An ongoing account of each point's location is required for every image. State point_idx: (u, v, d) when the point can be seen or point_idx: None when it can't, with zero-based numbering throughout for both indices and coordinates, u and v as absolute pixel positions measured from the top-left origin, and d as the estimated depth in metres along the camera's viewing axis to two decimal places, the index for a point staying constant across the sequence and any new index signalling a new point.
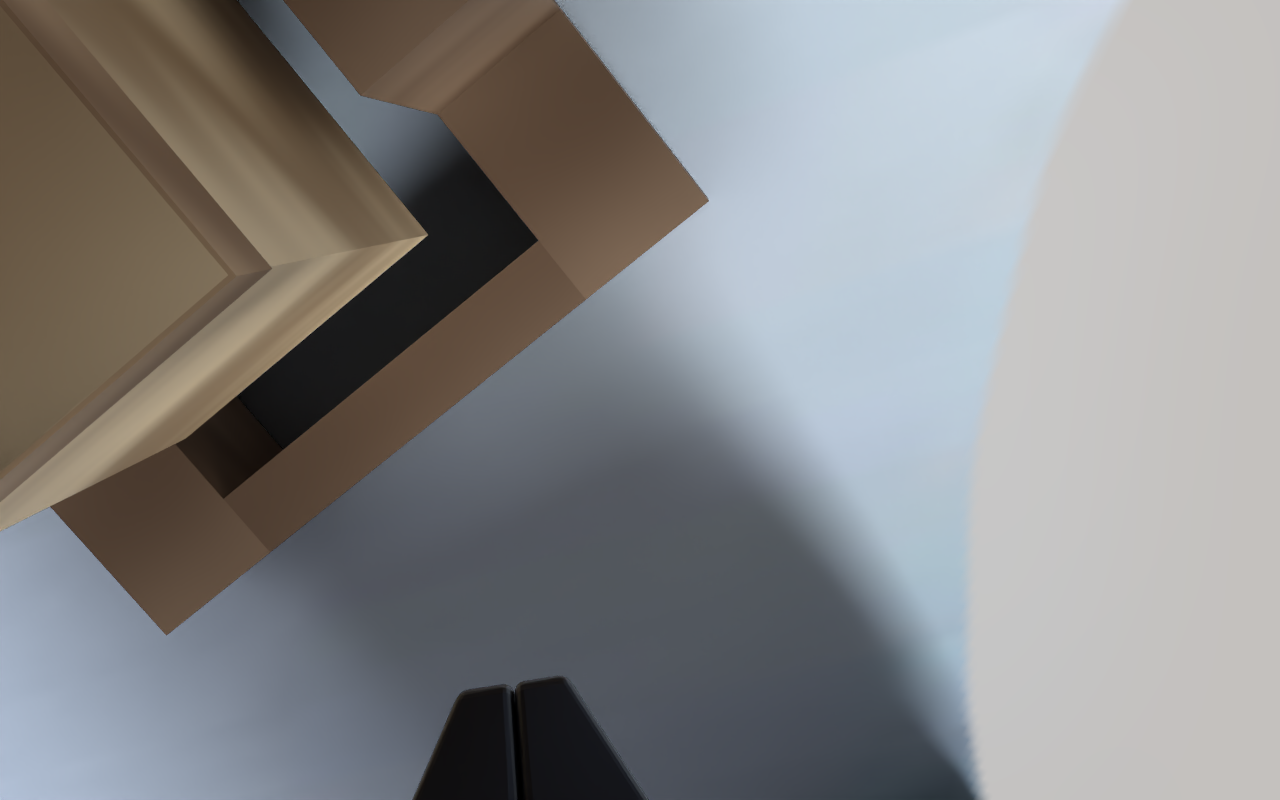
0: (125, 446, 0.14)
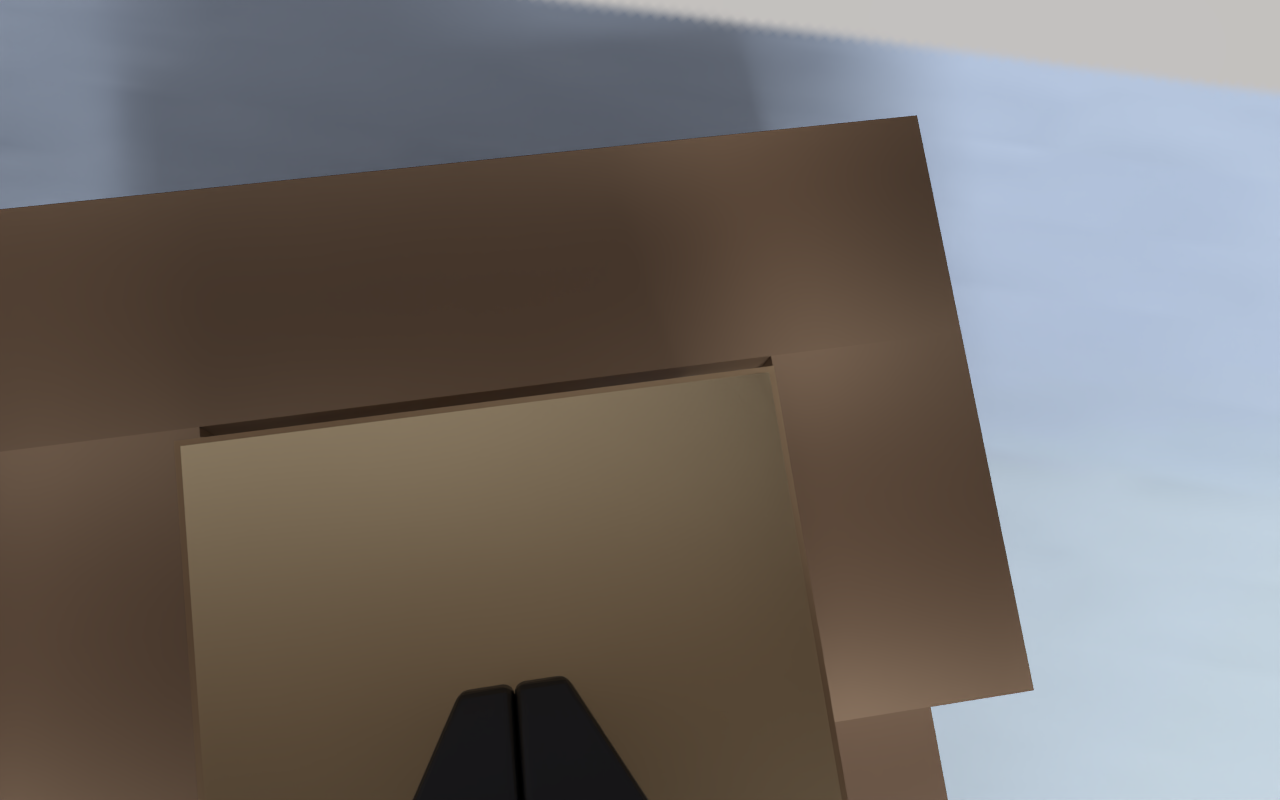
0: None
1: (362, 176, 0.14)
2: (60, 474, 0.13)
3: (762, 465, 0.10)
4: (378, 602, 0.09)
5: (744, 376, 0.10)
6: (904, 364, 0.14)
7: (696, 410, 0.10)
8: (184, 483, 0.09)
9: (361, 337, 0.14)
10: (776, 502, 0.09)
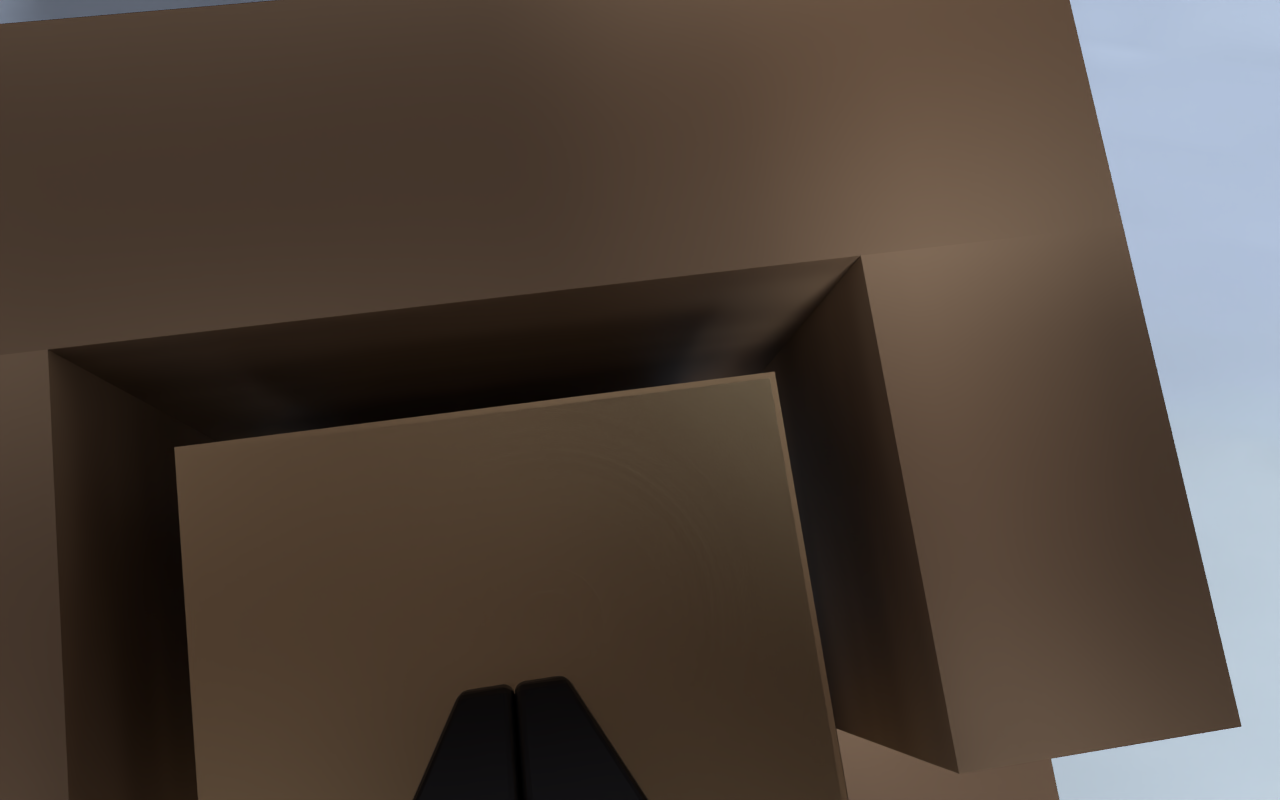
0: None
1: (288, 4, 0.10)
2: None
3: (763, 471, 0.10)
4: (377, 608, 0.09)
5: (745, 382, 0.10)
6: (1046, 268, 0.10)
7: (697, 416, 0.10)
8: (184, 489, 0.09)
9: (283, 226, 0.10)
10: (777, 508, 0.09)
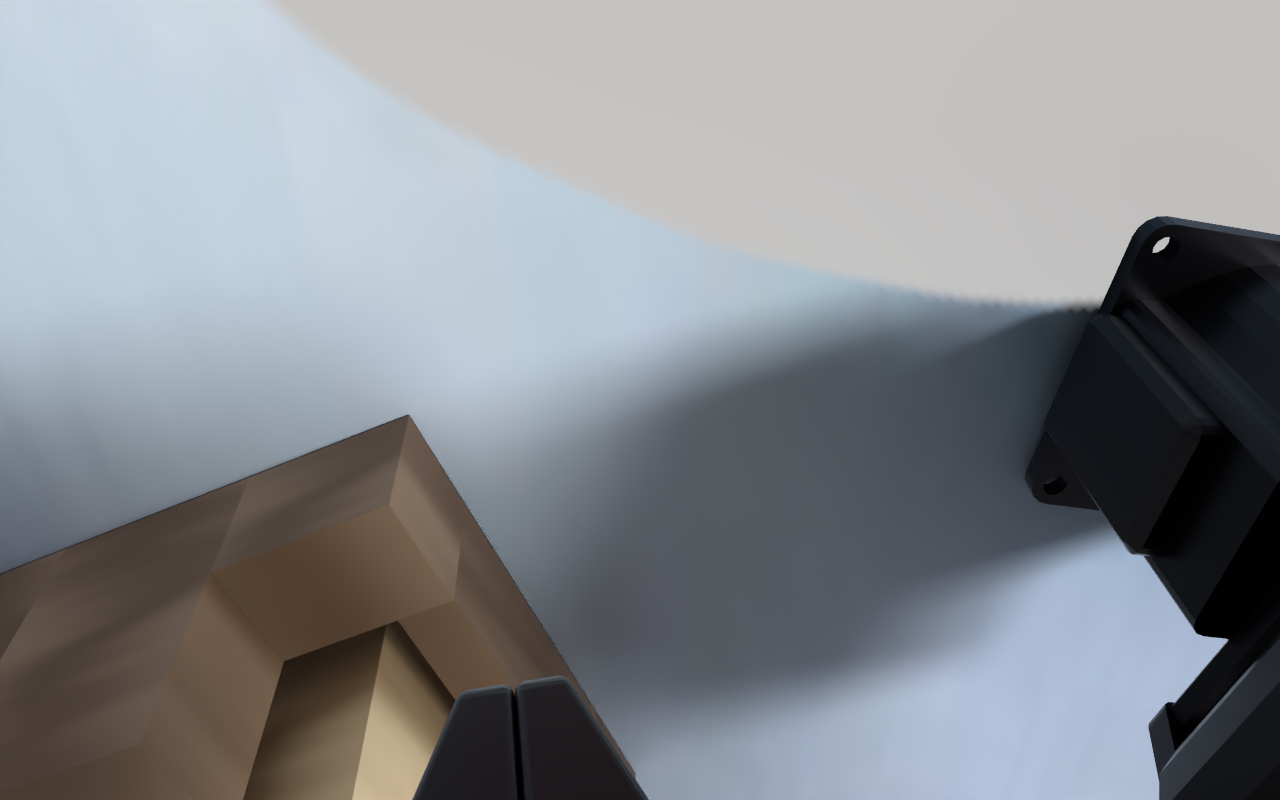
0: None
1: None
2: None
3: None
4: None
5: None
6: None
7: None
8: None
9: None
10: None
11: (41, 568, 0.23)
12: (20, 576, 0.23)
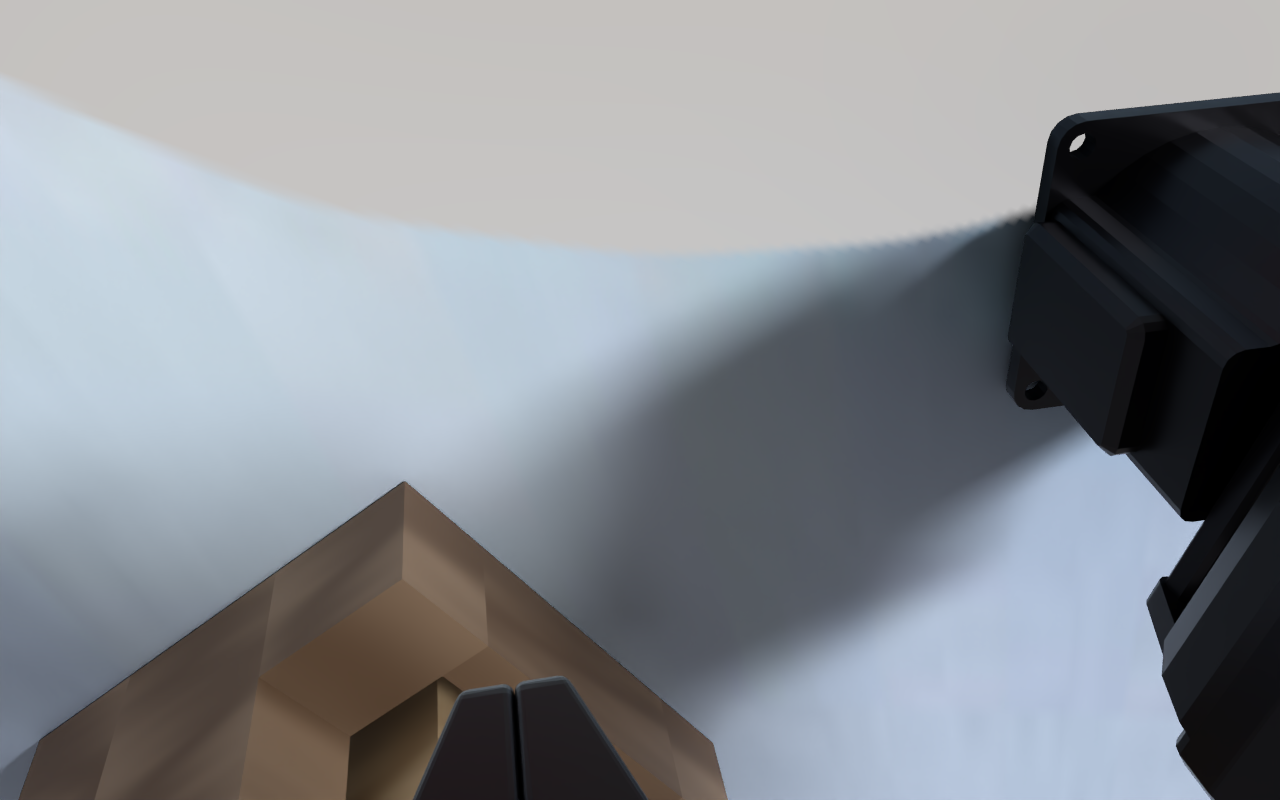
0: None
1: None
2: None
3: None
4: None
5: None
6: None
7: None
8: None
9: None
10: None
11: (112, 700, 0.25)
12: (95, 711, 0.25)
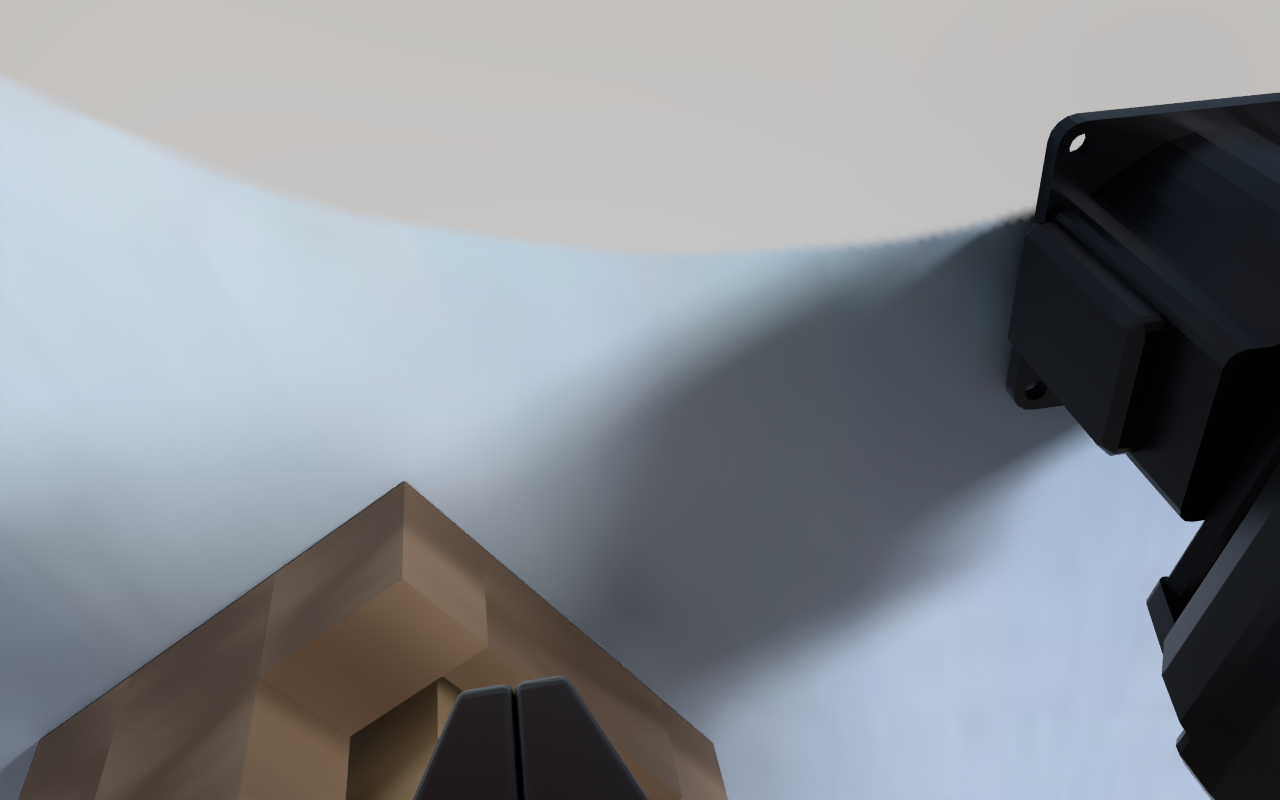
0: None
1: None
2: None
3: None
4: None
5: None
6: None
7: None
8: None
9: None
10: None
11: (112, 700, 0.25)
12: (95, 711, 0.25)
